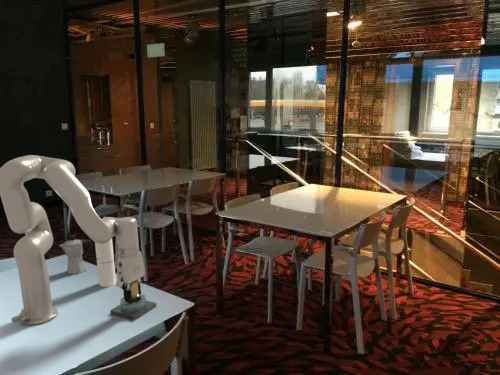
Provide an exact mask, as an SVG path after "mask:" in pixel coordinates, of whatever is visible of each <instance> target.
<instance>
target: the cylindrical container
mask: <svg viewBox="0 0 500 375" xmlns="http://www.w3.org/2000/svg"><path fill="white" fill-rule="evenodd" d="M94 246H95V256H96V257H95V258H96V266H97V274H98V275H97V277H98V285H99V287H103V288H106V287H111V286H115V285H116V284H117V279H116V277H117V275H116V266H115V259H114V258H115V254H114V245H113V237H112V238H111V240H110V241H109V242H107V243H104V244H99V243H96V242H94Z"/></svg>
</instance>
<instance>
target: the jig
mask: <svg viewBox="0 0 500 375" xmlns="http://www.w3.org/2000/svg"><path fill="white" fill-rule="evenodd" d="M156 307H157V302H153V301H149V300H147V298H146V294H142V293H141V294H140V295H139V301H137V302H133V303H128V302H127V300H126V299H124V296H123V297H121V298H120V304H119V305H117V306H115V307H113V308H112V309H110V315H112V316H118V317H121V318H125V319H128V320H132V321H136V320H138V319H139V318H140V317H143V316H144V315H145V314H147V313H148V312H150V311H151V310H153V309H155V308H156Z"/></svg>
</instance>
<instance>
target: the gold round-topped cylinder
mask: <svg viewBox="0 0 500 375" xmlns="http://www.w3.org/2000/svg"><path fill="white" fill-rule="evenodd" d="M125 286H126V283H125ZM129 290H131V300H127V302H128V303H133V302H137V301H139V291H138V280H135V281H133V282H131V283H130V288H129Z"/></svg>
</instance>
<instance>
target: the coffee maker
mask: <svg viewBox="0 0 500 375" xmlns="http://www.w3.org/2000/svg"><path fill="white" fill-rule="evenodd" d="M69 237H70V240H67V241H65V242H63V243H61V244H59V245H58V246H59V247H61V250H63V251H64V253H65V256H66V257H67V275H71V276H72V275H79V273H80V274H82V273H84V272H86V267H85V262H84V259H83V256H82V255H83V254H84V247H86V246H88V245H89V247H88V248H87V250H86V252H85V256H88V254H89V253H90V251H91V250H92V247H93V245H94V244H93V242H92V240H91V239H76V234H70V235H69Z"/></svg>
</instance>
